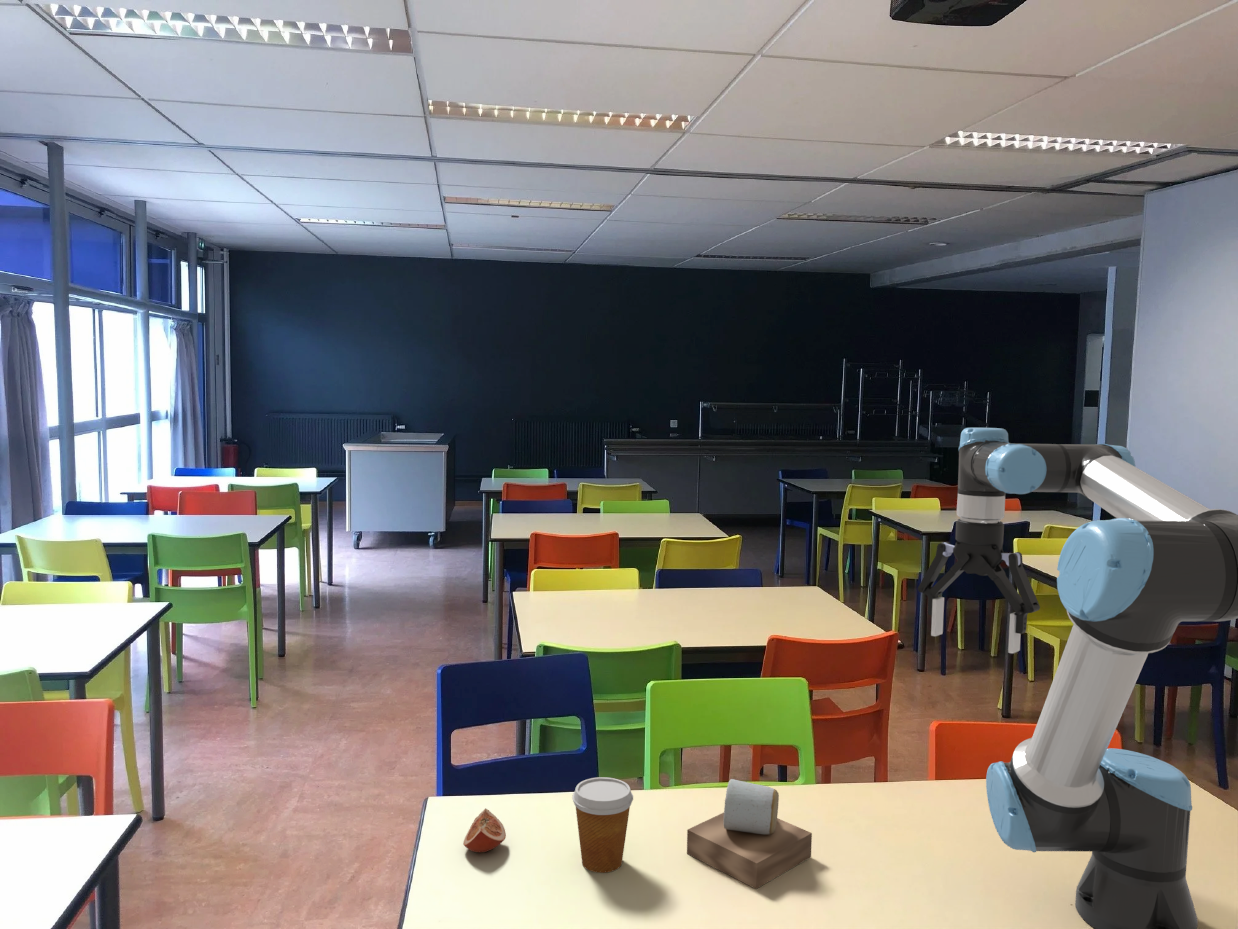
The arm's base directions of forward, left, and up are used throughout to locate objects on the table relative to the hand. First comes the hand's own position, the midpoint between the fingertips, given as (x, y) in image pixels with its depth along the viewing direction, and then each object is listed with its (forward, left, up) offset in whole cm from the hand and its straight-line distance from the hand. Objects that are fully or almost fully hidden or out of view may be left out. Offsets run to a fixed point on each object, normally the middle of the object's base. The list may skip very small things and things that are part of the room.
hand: (974, 643), depth 157 cm
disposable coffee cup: (+32, +56, -32) cm, 72 cm away
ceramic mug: (+19, +36, -28) cm, 49 cm away
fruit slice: (+48, +67, -32) cm, 88 cm away
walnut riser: (+18, +37, -32) cm, 52 cm away
